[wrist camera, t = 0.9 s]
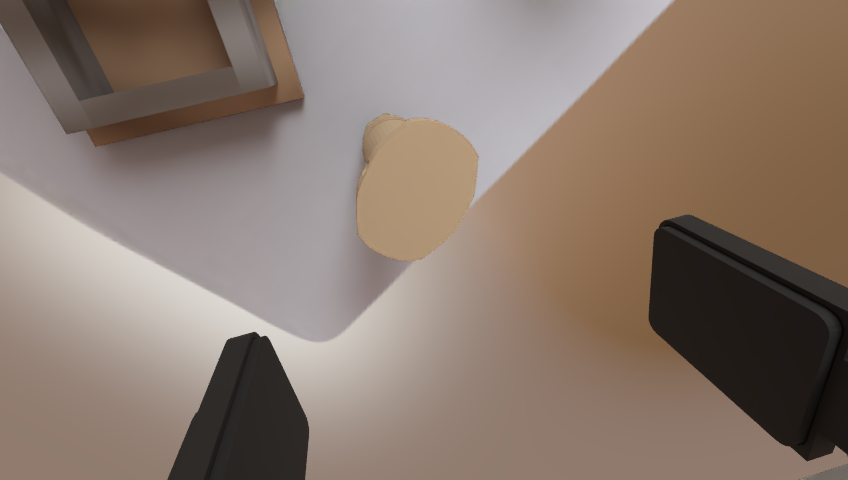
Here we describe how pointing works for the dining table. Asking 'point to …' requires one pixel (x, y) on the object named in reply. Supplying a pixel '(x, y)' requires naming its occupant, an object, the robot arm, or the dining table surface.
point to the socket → (151, 61)
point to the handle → (413, 185)
